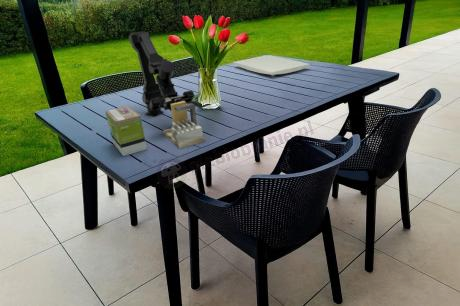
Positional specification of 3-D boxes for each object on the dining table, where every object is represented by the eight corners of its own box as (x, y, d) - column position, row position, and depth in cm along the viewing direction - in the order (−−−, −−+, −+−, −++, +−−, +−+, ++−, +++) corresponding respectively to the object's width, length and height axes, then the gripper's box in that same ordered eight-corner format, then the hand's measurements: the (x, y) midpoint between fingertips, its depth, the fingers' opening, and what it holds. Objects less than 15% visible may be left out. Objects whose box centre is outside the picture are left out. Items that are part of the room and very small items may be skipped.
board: (233, 68, 258) (233, 61, 256) (268, 61, 273) (268, 55, 271) (271, 79, 223) (271, 72, 221) (309, 71, 238) (310, 64, 236)
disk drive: (216, 103, 188) (198, 98, 198) (216, 98, 187) (197, 93, 197) (201, 109, 182) (183, 103, 191) (201, 103, 181) (183, 98, 190)
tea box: (112, 144, 147) (104, 110, 141) (135, 137, 152) (129, 104, 145) (122, 157, 135) (114, 120, 129) (147, 149, 140) (141, 114, 133)
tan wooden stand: (163, 133, 154) (158, 102, 147) (186, 127, 158) (182, 96, 152) (179, 148, 139) (175, 114, 133) (205, 141, 144) (201, 107, 137)
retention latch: (173, 133, 149) (169, 103, 143) (186, 129, 151) (183, 100, 146) (178, 137, 144) (174, 106, 139) (192, 133, 147) (188, 103, 141)
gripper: (182, 91, 161) (195, 121, 158) (143, 100, 154) (155, 131, 150) (187, 78, 152) (201, 109, 148) (145, 86, 144) (158, 119, 140)
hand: (179, 117), depth 147 cm, fingers closed, pressing on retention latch
